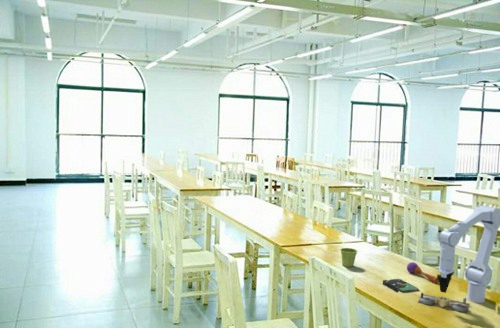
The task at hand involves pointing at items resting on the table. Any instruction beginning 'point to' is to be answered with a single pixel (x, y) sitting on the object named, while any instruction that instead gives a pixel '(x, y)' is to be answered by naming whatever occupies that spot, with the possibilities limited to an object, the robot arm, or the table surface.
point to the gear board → (454, 306)
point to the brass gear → (443, 302)
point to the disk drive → (399, 285)
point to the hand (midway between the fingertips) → (444, 289)
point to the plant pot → (348, 256)
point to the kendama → (420, 272)
